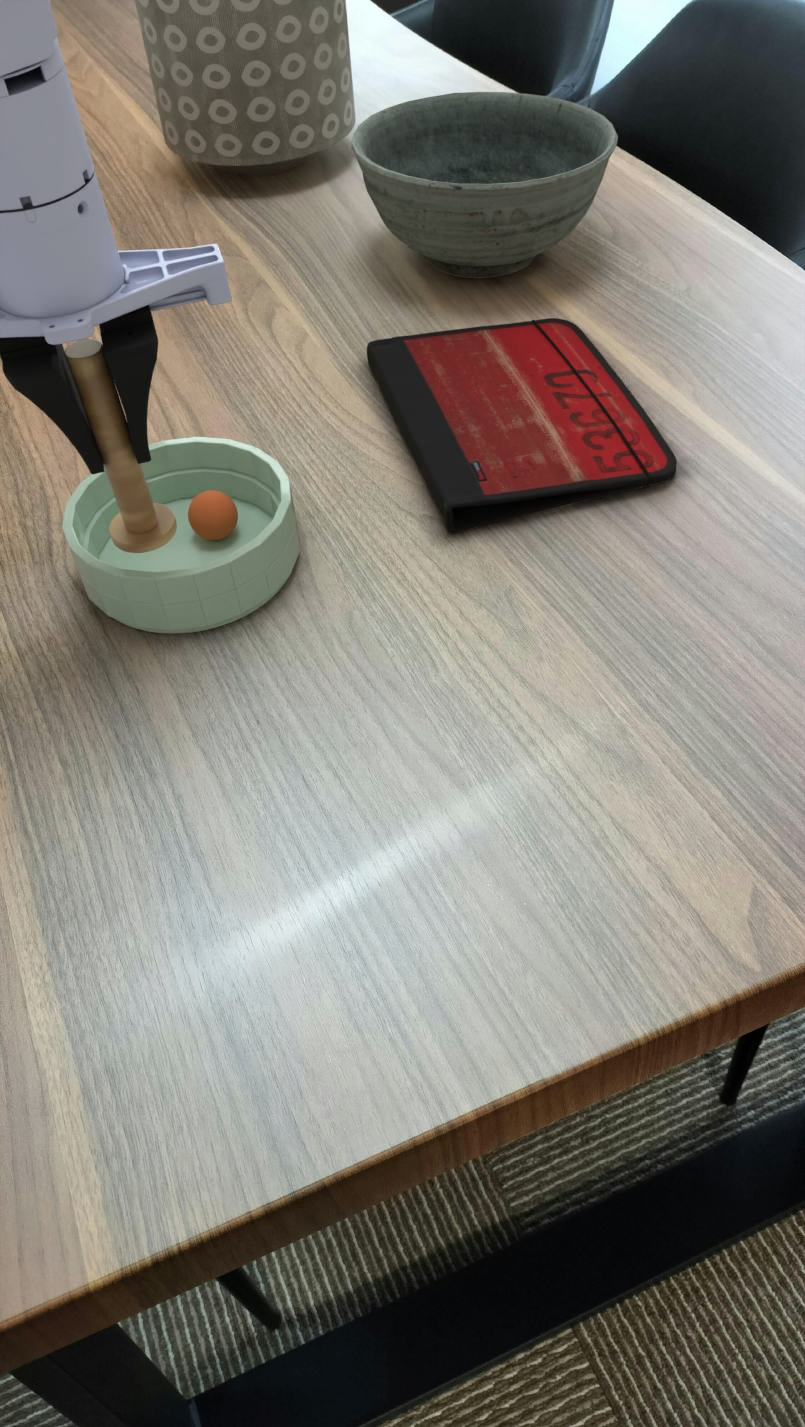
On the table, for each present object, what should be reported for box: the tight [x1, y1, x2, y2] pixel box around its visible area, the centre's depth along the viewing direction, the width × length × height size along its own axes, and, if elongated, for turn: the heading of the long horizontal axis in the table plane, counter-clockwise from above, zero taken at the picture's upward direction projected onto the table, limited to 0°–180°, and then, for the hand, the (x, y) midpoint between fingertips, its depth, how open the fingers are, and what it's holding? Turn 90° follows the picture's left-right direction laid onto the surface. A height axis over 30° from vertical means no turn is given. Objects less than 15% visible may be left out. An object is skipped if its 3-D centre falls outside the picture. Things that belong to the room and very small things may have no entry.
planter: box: [134, 0, 356, 177], centre depth 97 cm, size 19×19×18 cm
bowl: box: [351, 91, 619, 279], centre depth 84 cm, size 21×21×10 cm
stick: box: [64, 338, 177, 553], centre depth 52 cm, size 4×4×11 cm
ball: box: [188, 490, 238, 540], centre depth 63 cm, size 3×3×3 cm
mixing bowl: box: [61, 436, 301, 635], centre depth 61 cm, size 13×13×4 cm
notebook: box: [366, 317, 678, 534], centre depth 70 cm, size 16×2×21 cm
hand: (119, 457), depth 53 cm, fingers closed on stick, 2 cm apart
